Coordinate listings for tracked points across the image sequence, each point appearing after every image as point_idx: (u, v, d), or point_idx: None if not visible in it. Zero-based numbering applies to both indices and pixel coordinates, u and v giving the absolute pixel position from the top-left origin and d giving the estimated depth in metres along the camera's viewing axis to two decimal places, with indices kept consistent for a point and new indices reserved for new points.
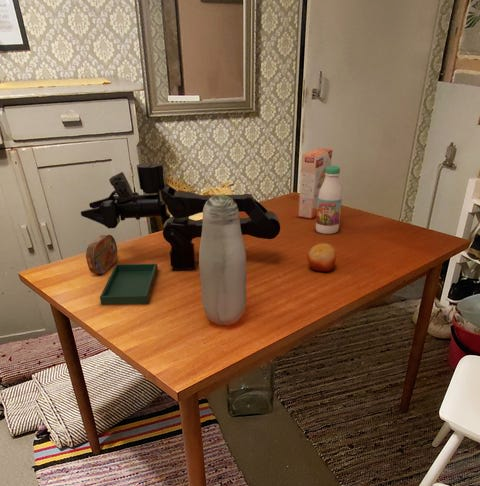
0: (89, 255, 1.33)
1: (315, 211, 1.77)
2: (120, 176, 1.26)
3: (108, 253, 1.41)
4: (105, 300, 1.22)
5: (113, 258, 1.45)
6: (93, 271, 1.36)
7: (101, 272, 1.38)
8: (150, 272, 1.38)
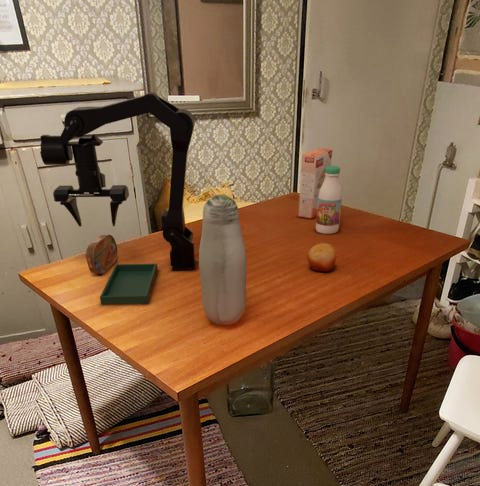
0: (89, 255, 1.33)
1: (315, 211, 1.77)
2: None
3: (108, 253, 1.41)
4: (105, 300, 1.22)
5: (113, 258, 1.45)
6: (93, 271, 1.36)
7: (101, 272, 1.38)
8: (150, 272, 1.38)
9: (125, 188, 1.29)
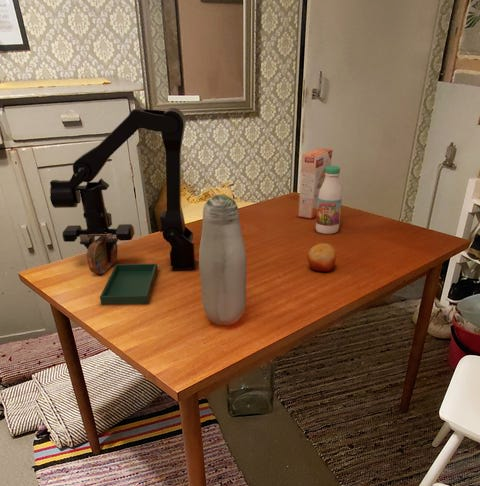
0: (90, 255, 1.33)
1: (315, 211, 1.77)
2: None
3: None
4: (105, 300, 1.22)
5: (113, 258, 1.45)
6: (93, 271, 1.36)
7: (101, 272, 1.38)
8: (150, 272, 1.38)
9: (131, 227, 1.35)
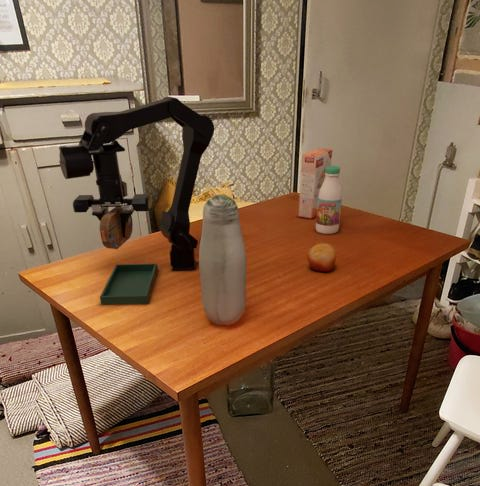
0: (103, 227, 1.20)
1: (315, 211, 1.77)
2: None
3: None
4: (105, 300, 1.22)
5: (128, 233, 1.31)
6: (106, 245, 1.23)
7: (115, 247, 1.25)
8: (150, 272, 1.38)
9: (148, 197, 1.22)
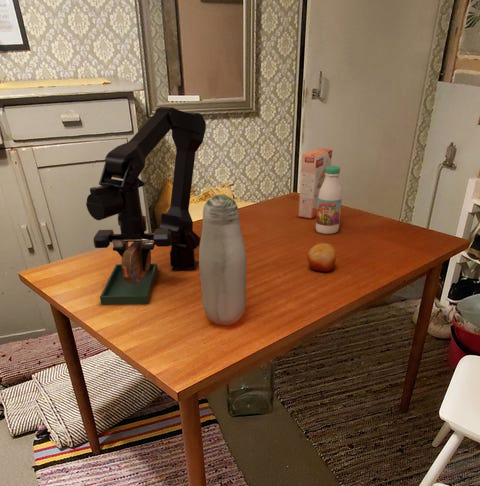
0: (125, 263, 1.19)
1: (315, 211, 1.77)
2: None
3: None
4: (105, 300, 1.22)
5: (147, 265, 1.31)
6: (128, 280, 1.22)
7: (136, 282, 1.24)
8: (150, 272, 1.38)
9: (169, 232, 1.21)
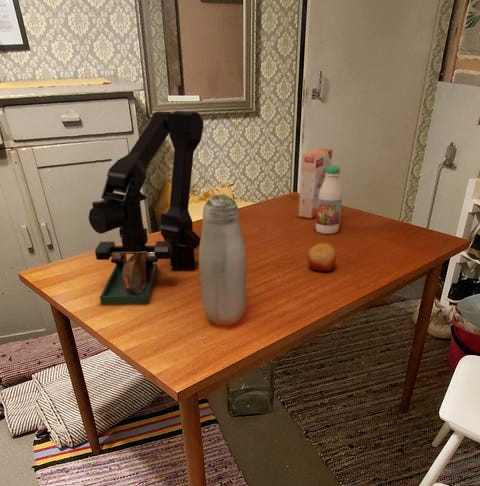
0: (126, 275, 1.21)
1: (315, 211, 1.77)
2: None
3: (143, 271, 1.29)
4: (105, 300, 1.22)
5: None
6: (130, 292, 1.24)
7: (138, 292, 1.25)
8: None
9: (170, 245, 1.23)
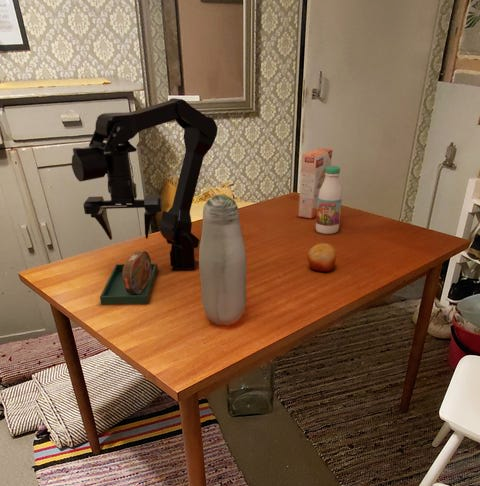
0: (126, 275, 1.21)
1: (315, 211, 1.77)
2: None
3: (143, 271, 1.29)
4: (105, 300, 1.22)
5: (148, 276, 1.32)
6: (130, 292, 1.24)
7: (138, 292, 1.25)
8: None
9: (160, 198, 1.21)
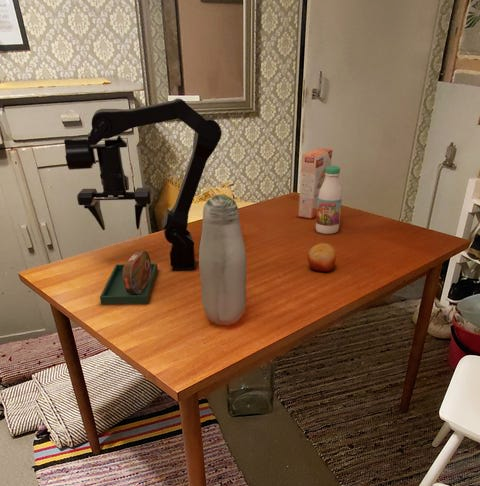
0: (126, 275, 1.21)
1: (315, 211, 1.77)
2: None
3: (143, 271, 1.29)
4: (105, 300, 1.22)
5: (148, 276, 1.32)
6: (130, 292, 1.24)
7: (138, 292, 1.25)
8: None
9: (150, 190, 1.27)
